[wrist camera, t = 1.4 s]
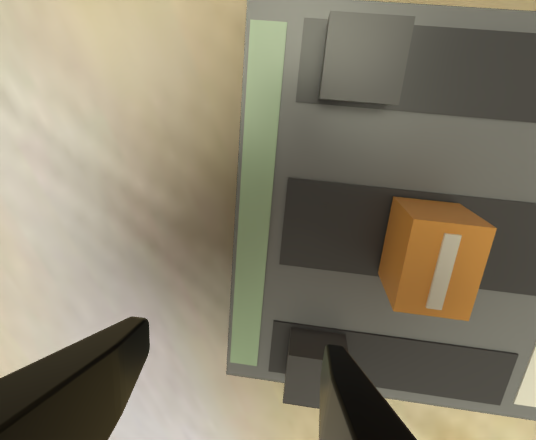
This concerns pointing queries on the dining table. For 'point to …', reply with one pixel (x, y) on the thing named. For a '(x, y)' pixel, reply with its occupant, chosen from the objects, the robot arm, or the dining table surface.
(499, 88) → the panel
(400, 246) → the handle
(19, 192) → the dining table surface
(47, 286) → the dining table surface
